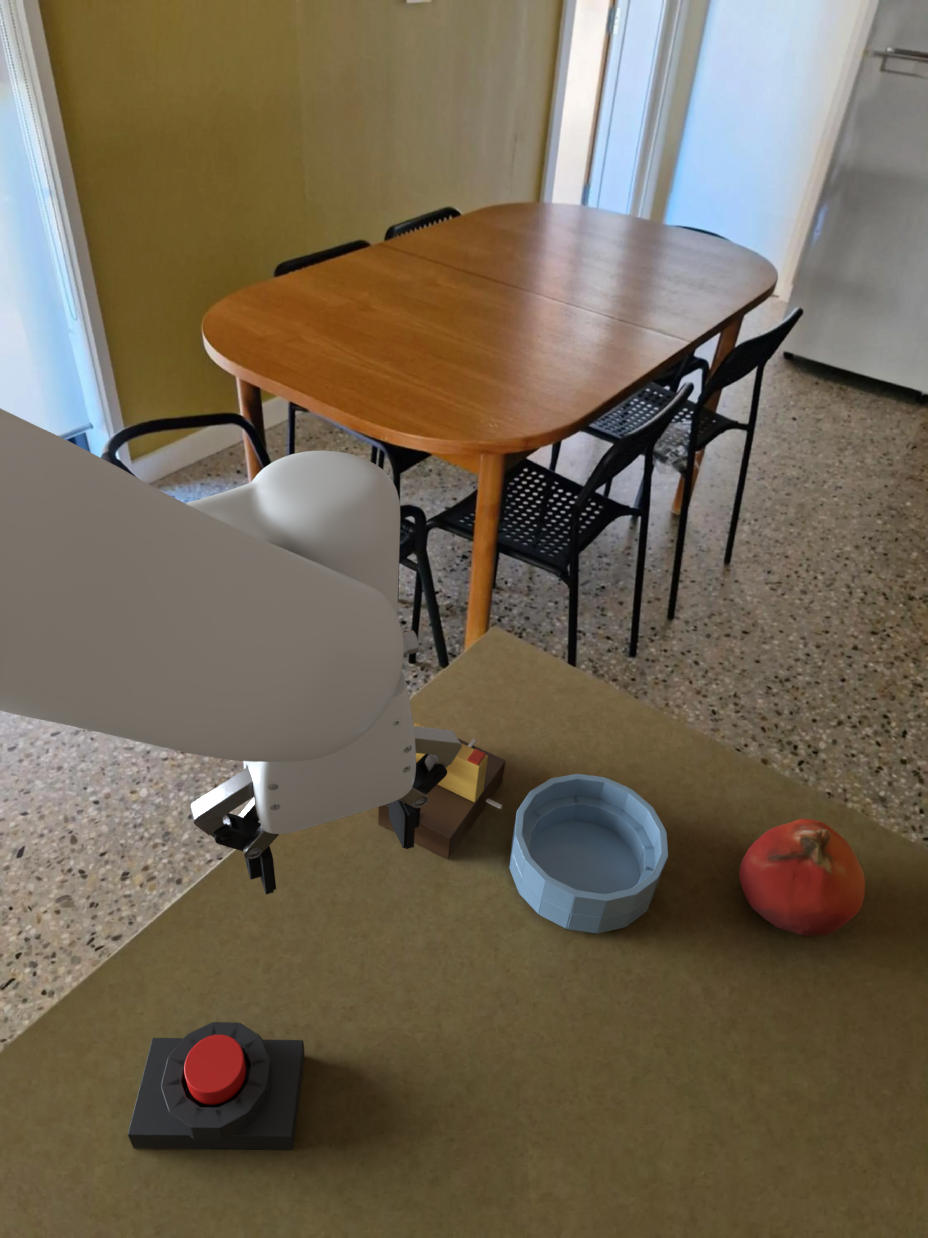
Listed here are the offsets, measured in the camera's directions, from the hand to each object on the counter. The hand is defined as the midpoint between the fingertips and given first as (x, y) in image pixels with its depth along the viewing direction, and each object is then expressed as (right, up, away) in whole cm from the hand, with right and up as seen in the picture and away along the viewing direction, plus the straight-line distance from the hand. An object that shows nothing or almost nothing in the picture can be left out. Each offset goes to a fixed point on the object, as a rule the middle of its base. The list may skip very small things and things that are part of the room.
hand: (334, 854), depth 61 cm
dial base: (+7, 0, +18) cm, 19 cm away
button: (-7, -13, -4) cm, 15 cm away
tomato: (+36, -8, +13) cm, 38 cm away
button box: (-7, -16, -2) cm, 17 cm away
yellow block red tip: (+7, +2, +16) cm, 18 cm away
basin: (+19, -5, +14) cm, 24 cm away
